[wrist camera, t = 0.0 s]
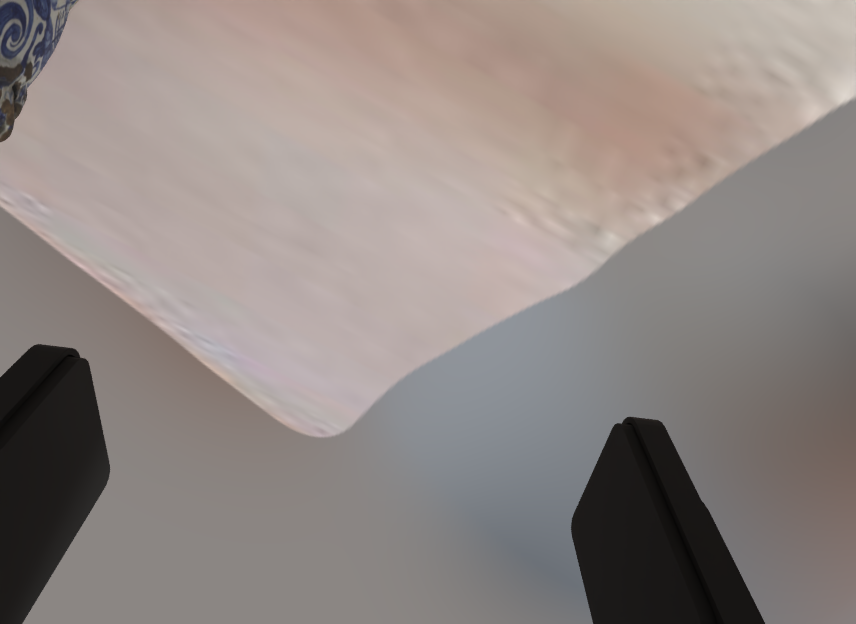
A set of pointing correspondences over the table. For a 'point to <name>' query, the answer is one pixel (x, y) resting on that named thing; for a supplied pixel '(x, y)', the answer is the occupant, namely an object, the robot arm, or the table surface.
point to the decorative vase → (25, 49)
